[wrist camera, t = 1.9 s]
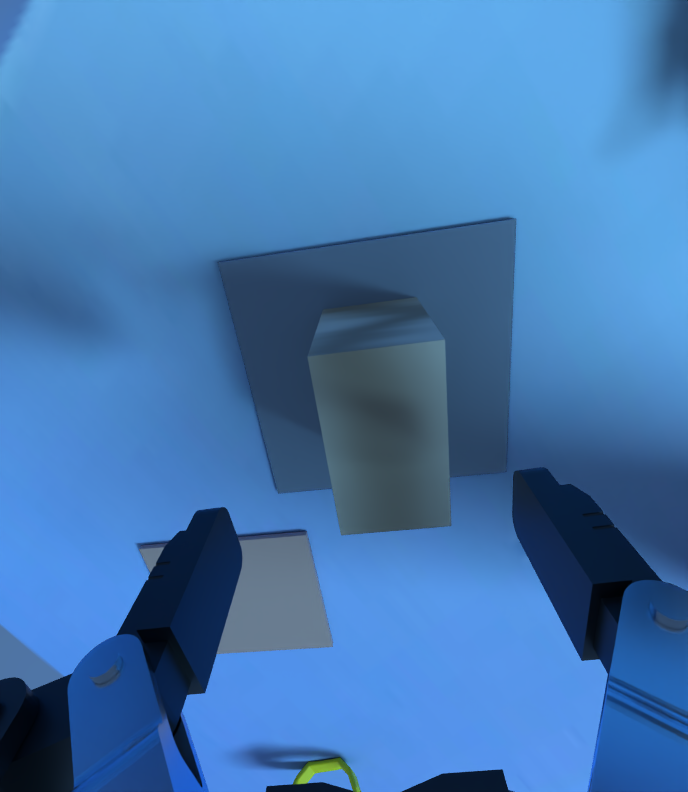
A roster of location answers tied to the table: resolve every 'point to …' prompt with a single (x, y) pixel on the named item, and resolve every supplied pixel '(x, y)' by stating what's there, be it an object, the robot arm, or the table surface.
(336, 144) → the table surface
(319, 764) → the watch
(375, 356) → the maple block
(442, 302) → the board
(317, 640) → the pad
